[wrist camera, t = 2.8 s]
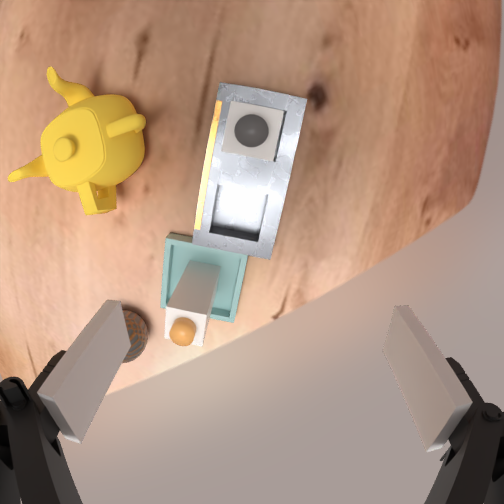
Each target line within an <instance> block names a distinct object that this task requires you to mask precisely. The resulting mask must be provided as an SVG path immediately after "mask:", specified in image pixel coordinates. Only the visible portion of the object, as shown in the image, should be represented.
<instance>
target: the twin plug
mask: <svg viewBox="0 0 504 504" xmlns="http://www.w3.org/2000/svg"><path fill="white" fill-rule="evenodd" d="M283 113H284V111H282V110H277V109H272V108H267V107H262V106H257V105H252V104H246V103H241V102H235V101H231V103H230V108H229V113H228V118H227V123H226V128H225V133H224V138H223V144H222V149H221V152H227V153H232V154H238V155H243V156H248V157H253V158H258V159H263V160H268V161H273V159H274V155H275V150H276V145H277V141H278V136H279V132H280V127H281V122H282V118H283Z"/></svg>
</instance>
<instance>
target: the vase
mask: <svg viewBox="0 0 504 504" xmlns="http://www.w3.org/2000/svg"><path fill="white" fill-rule="evenodd" d="M123 315H124V319H125V323H126V328H127V332H128V336H129V340H130V344H131V347H130V349H129V351H128V352H127V354H126V356H125V358H124V360H123V362H122V363H127V362H130V361H133V360H135V359H136V358H137V357H138V356H139V355H140V354H141V353H142V352H143V350H144V349H145V346H146V344H147V340H148V330H147V326H146V324H145V322H144V320H143V319H142V318H141V317H140V316H139V315H137V314H136V313H134V312H132V311H127V310H123Z"/></svg>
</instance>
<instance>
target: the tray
mask: <svg viewBox="0 0 504 504" xmlns="http://www.w3.org/2000/svg"><path fill="white" fill-rule="evenodd" d="M192 239H193V237H190V236H185V235H180V234H175V233H170V234H169V235H168V236H167V237H166V241H165V252H164V264H163V277H162V291H161V308H165V309H166V306H167V304H168V302H169V300H170V298H171V296H172V294H173V292H174V290H175V288H176V286H177V284H178V282H179V280H180V278H181V276H182V274H183V272H184V270H185V268H186V266H187V265H188V263H189V261H190V260H192V261H197V262H202V263H207V264H212V265H217V266H221V268H220V273H219V279H218V285H217V291H216V296H215V299H214V303H213V307H212V311H211V315H210V318H212V319H217V320H222V321H227V322H232V323H234V319H235V315H236V310H237V305H238V300H239V296H240V291H241V286H242V281H243V276H244V272H245V267H246V262H247V257H248V255H244V254H239V253H234V252H229V251H224V250H218V249H213V248H208V247H203V246H198V245H193V244H192Z"/></svg>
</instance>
